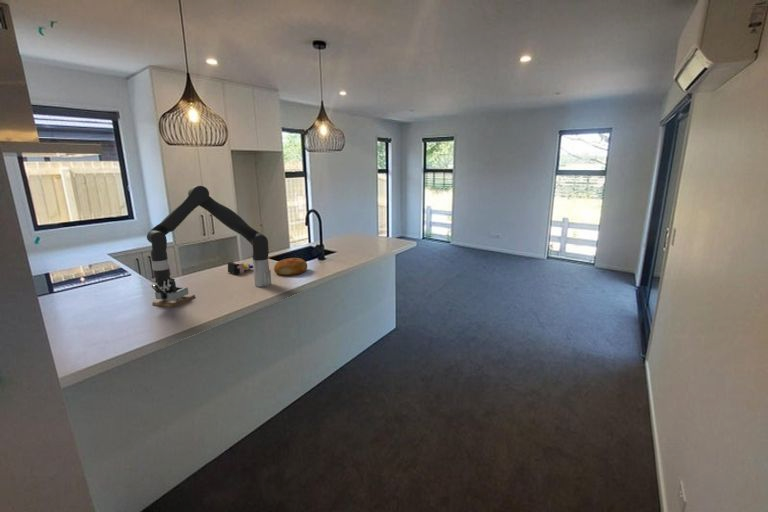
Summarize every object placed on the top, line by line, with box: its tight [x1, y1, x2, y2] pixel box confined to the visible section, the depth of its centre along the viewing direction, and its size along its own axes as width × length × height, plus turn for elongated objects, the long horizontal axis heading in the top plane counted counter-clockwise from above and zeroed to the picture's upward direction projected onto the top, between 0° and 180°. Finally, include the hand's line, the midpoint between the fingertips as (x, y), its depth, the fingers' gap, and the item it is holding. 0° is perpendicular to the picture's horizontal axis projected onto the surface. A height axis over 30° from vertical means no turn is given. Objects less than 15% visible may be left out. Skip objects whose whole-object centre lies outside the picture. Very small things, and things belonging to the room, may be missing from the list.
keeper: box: [151, 280, 196, 308], centre depth 190 cm, size 14×15×12 cm
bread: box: [273, 257, 308, 276], centre depth 246 cm, size 23×23×10 cm
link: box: [154, 285, 190, 301], centre depth 189 cm, size 11×11×4 cm
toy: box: [227, 261, 253, 275], centre depth 245 cm, size 12×7×15 cm
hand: (165, 298), depth 185 cm, fingers closed on link, 1 cm apart
